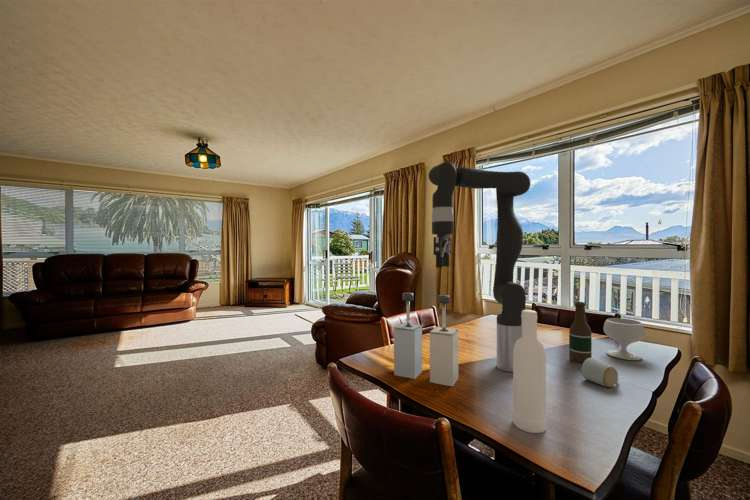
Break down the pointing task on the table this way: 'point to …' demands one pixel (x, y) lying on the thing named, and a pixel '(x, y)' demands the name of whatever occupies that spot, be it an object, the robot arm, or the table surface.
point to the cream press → (444, 356)
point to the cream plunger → (443, 308)
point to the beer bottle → (580, 336)
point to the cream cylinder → (599, 372)
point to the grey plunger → (408, 305)
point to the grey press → (408, 350)
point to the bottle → (529, 377)
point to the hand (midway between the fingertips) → (442, 267)
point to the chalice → (624, 336)
